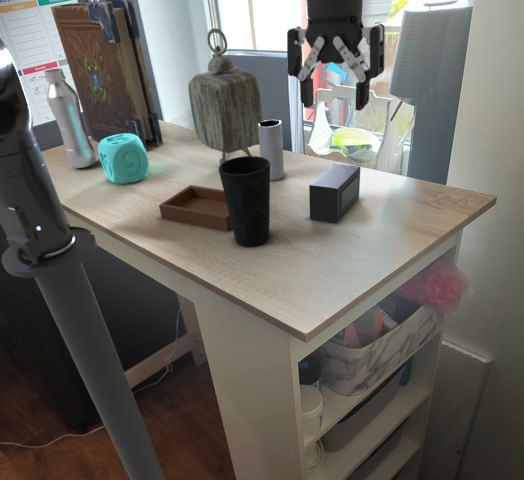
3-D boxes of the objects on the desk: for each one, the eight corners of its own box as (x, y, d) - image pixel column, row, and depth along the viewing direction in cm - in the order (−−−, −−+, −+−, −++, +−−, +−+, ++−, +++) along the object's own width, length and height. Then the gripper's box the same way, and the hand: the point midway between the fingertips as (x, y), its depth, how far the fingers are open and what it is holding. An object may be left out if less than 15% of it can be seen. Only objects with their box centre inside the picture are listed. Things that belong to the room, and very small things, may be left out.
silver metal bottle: (77, 161, 115) (45, 68, 102) (103, 160, 114) (74, 66, 101) (65, 171, 110) (30, 74, 97) (92, 170, 109) (60, 72, 96)
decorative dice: (138, 167, 108) (129, 130, 103) (152, 176, 103) (143, 138, 98) (105, 177, 105) (93, 140, 100) (118, 187, 100) (106, 148, 95)
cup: (239, 255, 74) (229, 179, 66) (222, 235, 79) (211, 163, 71) (283, 242, 76) (278, 167, 68) (264, 223, 81) (257, 152, 73)
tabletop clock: (266, 165, 102) (254, 27, 86) (230, 177, 99) (211, 35, 82) (231, 150, 112) (215, 23, 95) (198, 160, 108) (175, 30, 92)
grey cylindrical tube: (259, 180, 96) (254, 126, 89) (266, 171, 99) (262, 119, 93) (280, 181, 95) (276, 127, 88) (287, 172, 98) (284, 119, 91)
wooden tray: (227, 231, 80) (225, 217, 79) (161, 218, 87) (158, 205, 85) (256, 208, 86) (255, 194, 85) (192, 197, 93) (190, 184, 91)
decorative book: (163, 143, 120) (132, -3, 100) (141, 152, 116) (104, 2, 96) (108, 132, 132) (70, -1, 112) (87, 140, 128) (44, 4, 109)
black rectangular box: (337, 223, 79) (338, 189, 75) (309, 219, 81) (309, 185, 77) (359, 199, 85) (361, 166, 81) (333, 196, 87) (333, 163, 83)
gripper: (273, -20, 63) (281, 112, 73) (377, -28, 56) (369, 117, 67) (298, -26, 67) (303, 99, 78) (397, -34, 61) (387, 103, 72)
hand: (334, 107), depth 72 cm, fingers open, 8 cm apart
